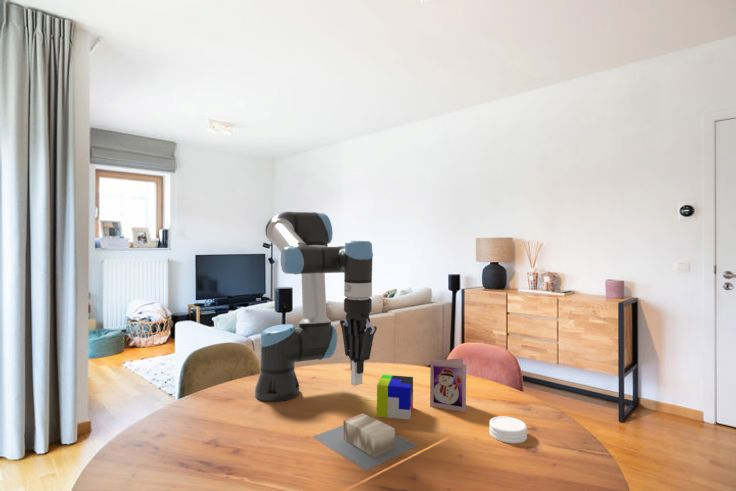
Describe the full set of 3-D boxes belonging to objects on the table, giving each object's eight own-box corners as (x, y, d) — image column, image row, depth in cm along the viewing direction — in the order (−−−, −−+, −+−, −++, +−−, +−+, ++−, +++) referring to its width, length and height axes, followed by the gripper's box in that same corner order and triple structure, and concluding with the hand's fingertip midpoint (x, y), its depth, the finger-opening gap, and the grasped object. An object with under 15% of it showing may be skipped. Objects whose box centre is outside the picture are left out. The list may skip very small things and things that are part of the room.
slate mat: (312, 438, 111) (312, 436, 111) (362, 419, 123) (362, 417, 123) (366, 472, 95) (366, 470, 95) (417, 446, 107) (418, 445, 107)
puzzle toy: (409, 421, 122) (410, 387, 122) (376, 417, 124) (377, 385, 124) (412, 407, 132) (413, 376, 132) (382, 405, 134) (382, 374, 134)
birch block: (343, 420, 110) (374, 437, 101) (363, 413, 115) (394, 428, 105) (343, 438, 110) (374, 457, 101) (363, 431, 115) (394, 447, 105)
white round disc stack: (526, 430, 117) (526, 418, 117) (527, 447, 108) (528, 433, 107) (490, 425, 120) (490, 413, 120) (488, 440, 111) (488, 427, 111)
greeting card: (429, 407, 132) (429, 361, 132) (434, 399, 139) (435, 355, 139) (465, 413, 128) (465, 365, 128) (468, 404, 135) (469, 359, 135)
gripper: (332, 296, 113) (331, 380, 114) (363, 302, 103) (362, 394, 104) (353, 293, 118) (352, 374, 119) (384, 299, 108) (383, 387, 109)
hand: (356, 383), depth 111 cm, fingers closed
